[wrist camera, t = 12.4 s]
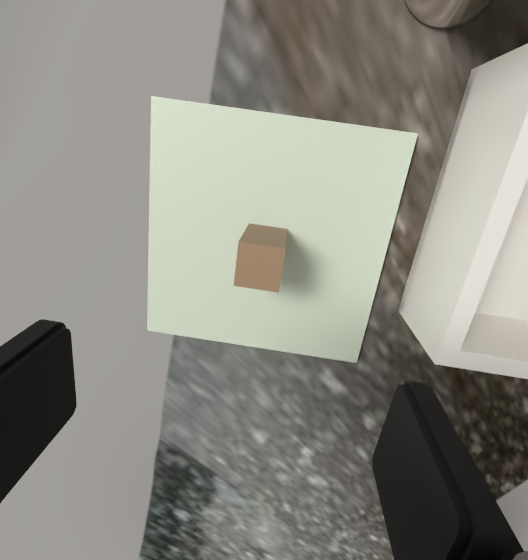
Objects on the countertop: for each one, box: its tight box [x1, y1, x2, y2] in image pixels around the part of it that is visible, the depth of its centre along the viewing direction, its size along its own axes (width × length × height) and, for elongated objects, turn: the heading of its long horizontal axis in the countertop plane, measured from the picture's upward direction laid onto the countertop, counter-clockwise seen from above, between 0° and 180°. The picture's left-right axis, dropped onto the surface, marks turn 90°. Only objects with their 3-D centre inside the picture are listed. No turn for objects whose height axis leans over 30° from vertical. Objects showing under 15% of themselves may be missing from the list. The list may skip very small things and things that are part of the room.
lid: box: [147, 96, 418, 363], centre depth 26 cm, size 19×19×7 cm
